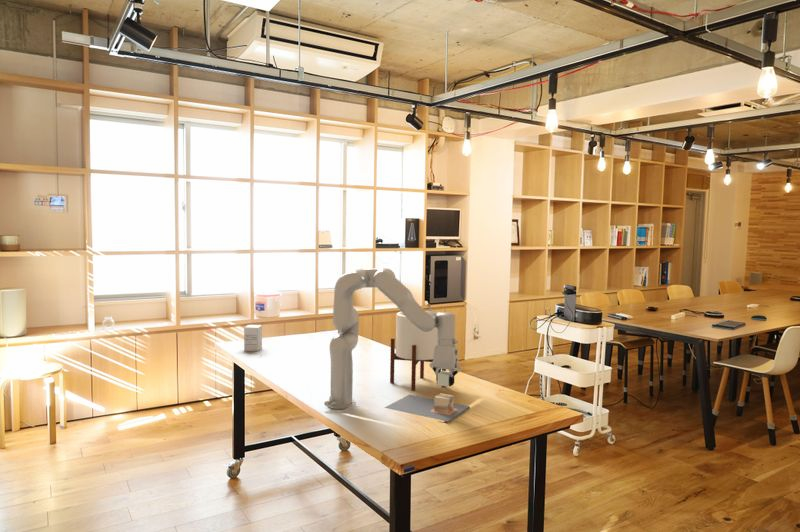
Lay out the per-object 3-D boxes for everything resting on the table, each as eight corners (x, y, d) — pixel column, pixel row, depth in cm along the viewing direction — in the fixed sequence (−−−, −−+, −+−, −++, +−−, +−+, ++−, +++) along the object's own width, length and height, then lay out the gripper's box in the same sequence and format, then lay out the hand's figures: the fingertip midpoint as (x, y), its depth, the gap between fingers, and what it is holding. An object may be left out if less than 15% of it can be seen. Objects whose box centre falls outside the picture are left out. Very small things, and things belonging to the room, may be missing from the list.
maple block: (447, 413, 227) (447, 399, 227) (434, 410, 230) (434, 396, 230) (453, 409, 232) (453, 395, 232) (440, 406, 235) (440, 393, 235)
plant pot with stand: (412, 394, 256) (413, 318, 254) (386, 382, 275) (387, 312, 272) (449, 387, 269) (451, 315, 266) (422, 376, 287) (424, 309, 285)
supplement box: (248, 347, 347) (248, 324, 346) (262, 348, 347) (262, 324, 346) (243, 351, 338) (243, 327, 337) (258, 351, 338) (258, 327, 337)
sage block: (448, 386, 227) (448, 374, 227) (437, 384, 230) (437, 373, 229) (453, 383, 231) (453, 372, 231) (442, 382, 234) (442, 370, 234)
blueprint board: (447, 423, 218) (447, 421, 218) (384, 409, 233) (384, 407, 233) (469, 408, 237) (469, 406, 237) (409, 396, 252) (409, 394, 252)
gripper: (468, 342, 228) (467, 385, 229) (431, 338, 237) (431, 379, 238) (460, 345, 222) (460, 389, 223) (423, 341, 230) (423, 383, 231)
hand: (445, 383), depth 230 cm, fingers closed on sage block, 4 cm apart
